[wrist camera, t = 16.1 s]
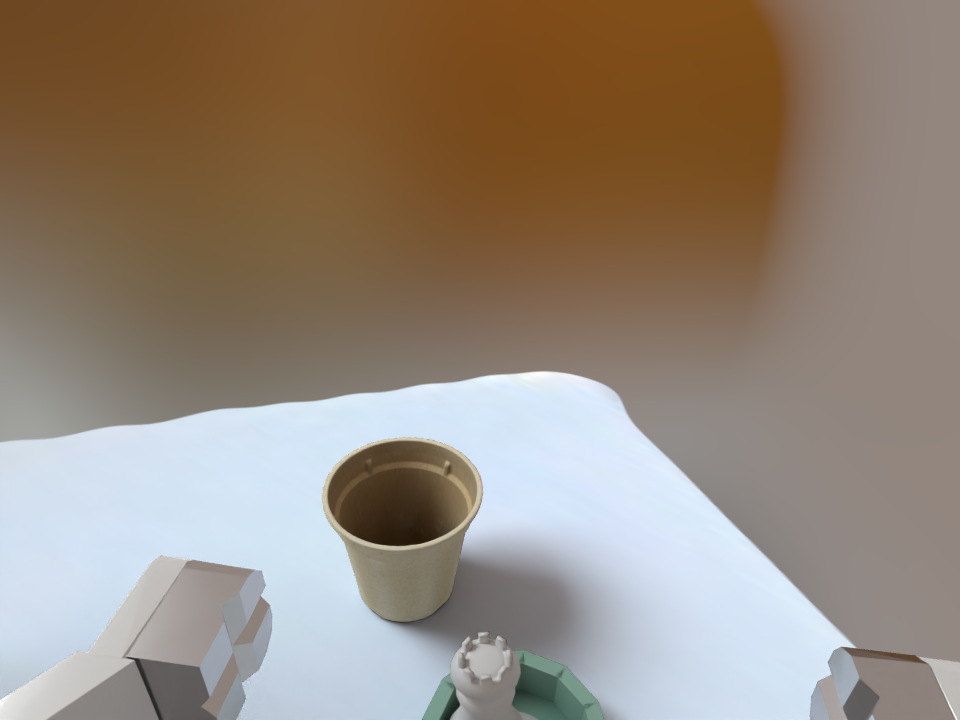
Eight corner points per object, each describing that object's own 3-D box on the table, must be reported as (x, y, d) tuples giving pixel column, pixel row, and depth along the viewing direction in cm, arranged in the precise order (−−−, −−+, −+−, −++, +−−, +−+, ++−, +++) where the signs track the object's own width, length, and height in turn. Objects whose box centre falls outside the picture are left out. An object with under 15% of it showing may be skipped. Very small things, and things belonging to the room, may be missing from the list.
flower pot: (505, 610, 43) (512, 512, 38) (365, 674, 39) (354, 574, 34) (440, 513, 50) (440, 421, 45) (316, 560, 46) (301, 463, 41)
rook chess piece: (435, 793, 33) (426, 694, 29) (451, 707, 37) (445, 609, 33) (526, 807, 32) (530, 708, 28) (533, 718, 36) (537, 619, 32)
